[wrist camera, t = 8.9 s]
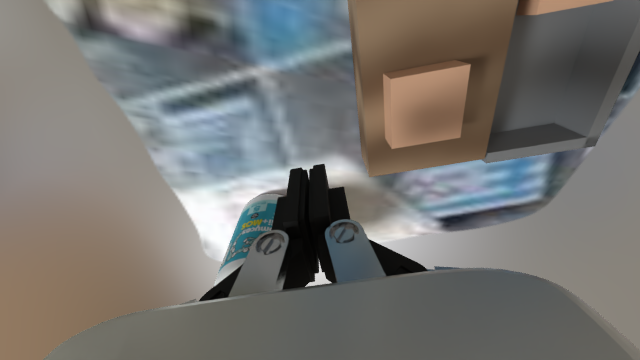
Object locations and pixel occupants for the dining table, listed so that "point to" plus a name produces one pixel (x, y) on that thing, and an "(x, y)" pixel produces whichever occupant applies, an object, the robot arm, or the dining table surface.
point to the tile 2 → (551, 5)
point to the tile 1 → (425, 103)
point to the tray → (562, 78)
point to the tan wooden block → (420, 50)
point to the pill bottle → (248, 232)
